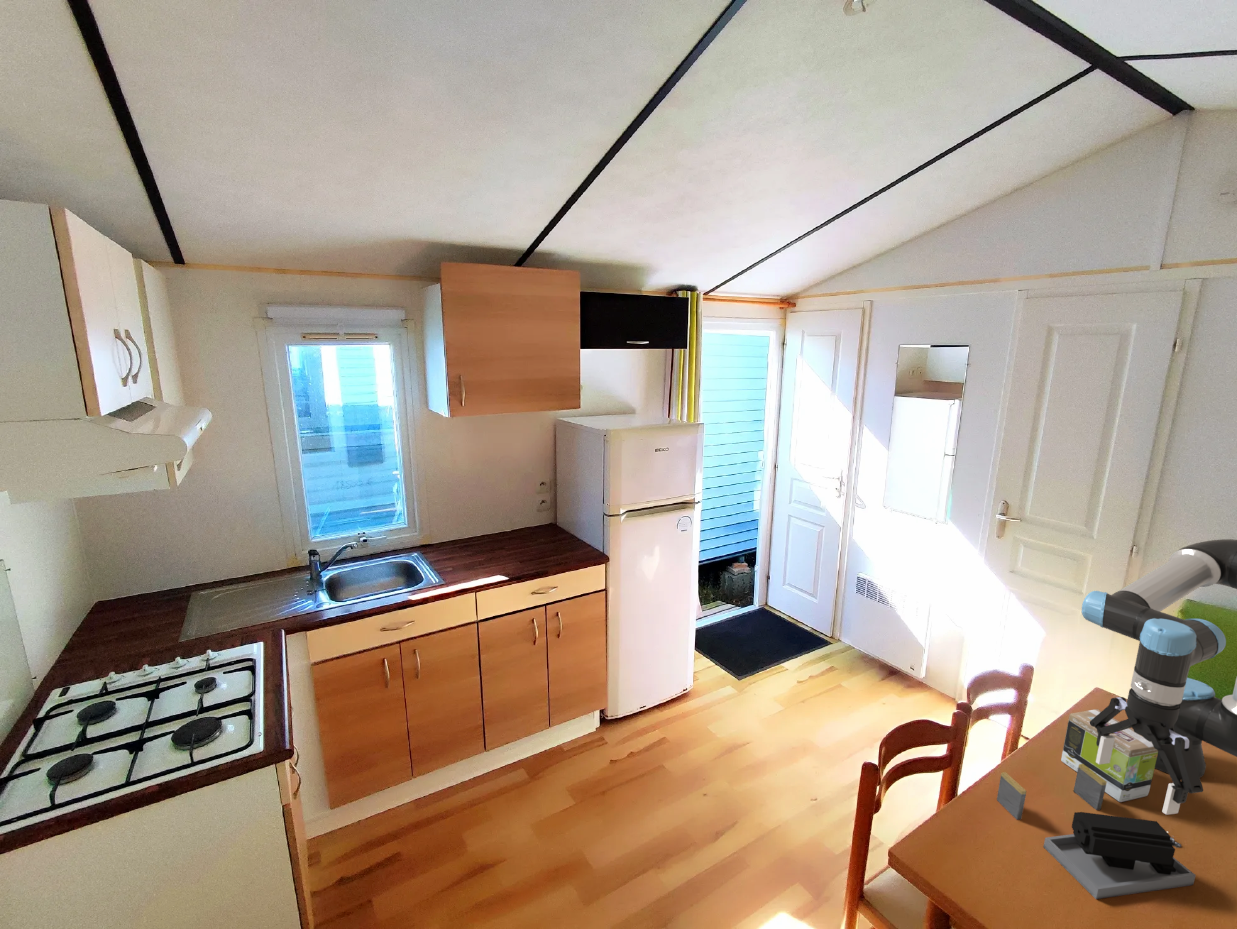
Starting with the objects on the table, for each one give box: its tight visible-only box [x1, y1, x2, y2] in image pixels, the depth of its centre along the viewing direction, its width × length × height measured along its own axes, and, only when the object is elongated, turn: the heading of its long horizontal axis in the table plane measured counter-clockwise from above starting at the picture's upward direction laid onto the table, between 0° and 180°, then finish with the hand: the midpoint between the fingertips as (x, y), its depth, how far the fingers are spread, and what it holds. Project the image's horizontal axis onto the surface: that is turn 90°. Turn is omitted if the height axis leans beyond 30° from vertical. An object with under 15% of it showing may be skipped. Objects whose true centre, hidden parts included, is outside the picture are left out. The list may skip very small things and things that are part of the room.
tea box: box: [1060, 708, 1158, 803], centre depth 144 cm, size 15×10×15 cm, turn 14°
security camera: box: [1071, 811, 1176, 875], centre depth 120 cm, size 7×18×10 cm, turn 81°
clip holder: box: [996, 764, 1107, 821], centre depth 136 cm, size 23×6×8 cm, turn 98°
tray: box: [1043, 833, 1196, 900], centre depth 121 cm, size 23×12×2 cm, turn 98°
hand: (1134, 786), depth 117 cm, fingers open, 13 cm apart
